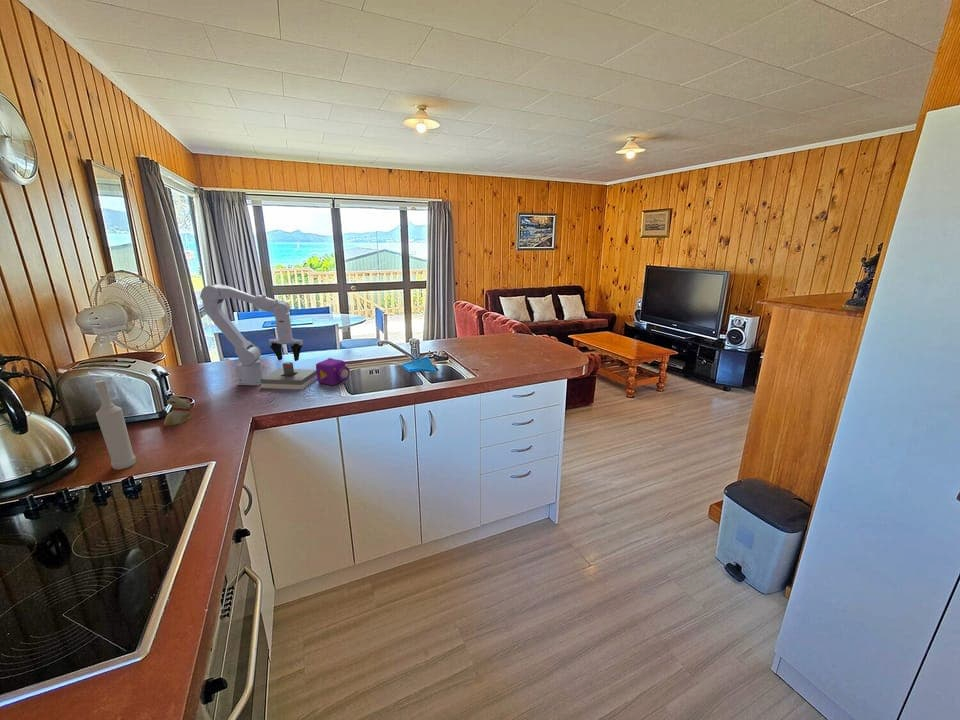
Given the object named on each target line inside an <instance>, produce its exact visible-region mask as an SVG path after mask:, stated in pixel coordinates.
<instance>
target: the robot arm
mask: <svg viewBox="0 0 960 720" xmlns="http://www.w3.org/2000/svg"><path fill="white" fill-rule="evenodd" d="M199 297H200V299H201V301H202V305H203V310H204V312H205V314H206V315H207V317H209V318H210V320H211V321H212V322H213V323H214V325H215V326H216V327H217V328H218V329H219V330H220V331H221V333H222V334H223V335H224V336H225V338H226V339H227V340H228V341H229V342H230V344H231V345H232V346H233V347H234V352H235V354H236V356H237V357H238V361H239V363H238V364H237V365H236V368H235V372H236V373H235V374H236V377H237V384H236V386H237V385H238V386H259V385H260V386H261V381H260V379H261V378H263V377H264V372H263V368H262V362H261V360H260V357H261V355H262V351H261V349H260V347H258V346H256V345H255V344H254V343H252V342H251V341H250V340H247V339H246V337H245V336H244V335H243V334H242V333H241V331H240V330H239V329H238V328H237V327H236V325H235V324H234V323H233V322H232V321H231V320H230V318H229V316H228V315H227V314H225V312H224V311H223V309H222V305H223V301H224V300H225V299H230V298H231V299H235V300H239V301H243V302H246V303H249V304H252V305H253V306H254V308H255V309H259V310H261V311H265V312H268V313H271V314H273V315H274V317H275V318H274V319H275V321H274V322H275V326H276V328H275V329H276V333H277V338H270V339H268V345H270V346H269V347H270V349H272V351H273V353H274V355H275V356H276V358H277V360H278V361H282V360H283V352H282V350H283V349H282V348H283V345H291V346H290V348H291V351H292V354H293V359H294V362H298V361H299V359H300V353H301V350H302V347H303V345H304V340H303V339H298V338H293V337H294V336H293V330H292V329H293V328H292V322H291V318H290V311H291V306H290V304H289V303H288V302H286V301H285V300H280V301H279V299H277V298H275V299H273V298H270V297H268V296H267V294H258V295H256V296H255V295H253V294H250V293H248V292H245V291H242V290H239V289H237V288H235V287H232V286H229V285H226V284H222V283H214V284H211V285H205V286H204V287H203V288H202V289H201V293H200V295H199Z"/></svg>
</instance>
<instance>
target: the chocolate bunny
mask: <svg viewBox="0 0 960 720" xmlns="http://www.w3.org/2000/svg"><path fill="white" fill-rule="evenodd" d="M169 397H170V398H169V399H167V400H166V403H167V404H168V405H170V406H171V407H172V411H170V412H169V413H167V414H166V416H165V419H164V422H163V426H164V427H171V426H175V425H180V424H183V423H186V422H188V421H190V419H191V416H190V414H191V412H192V410H191V403H190V401H189V400H188V399H182V398H180V397H178V396H177V395H174V394H171V395H170V396H169Z"/></svg>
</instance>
